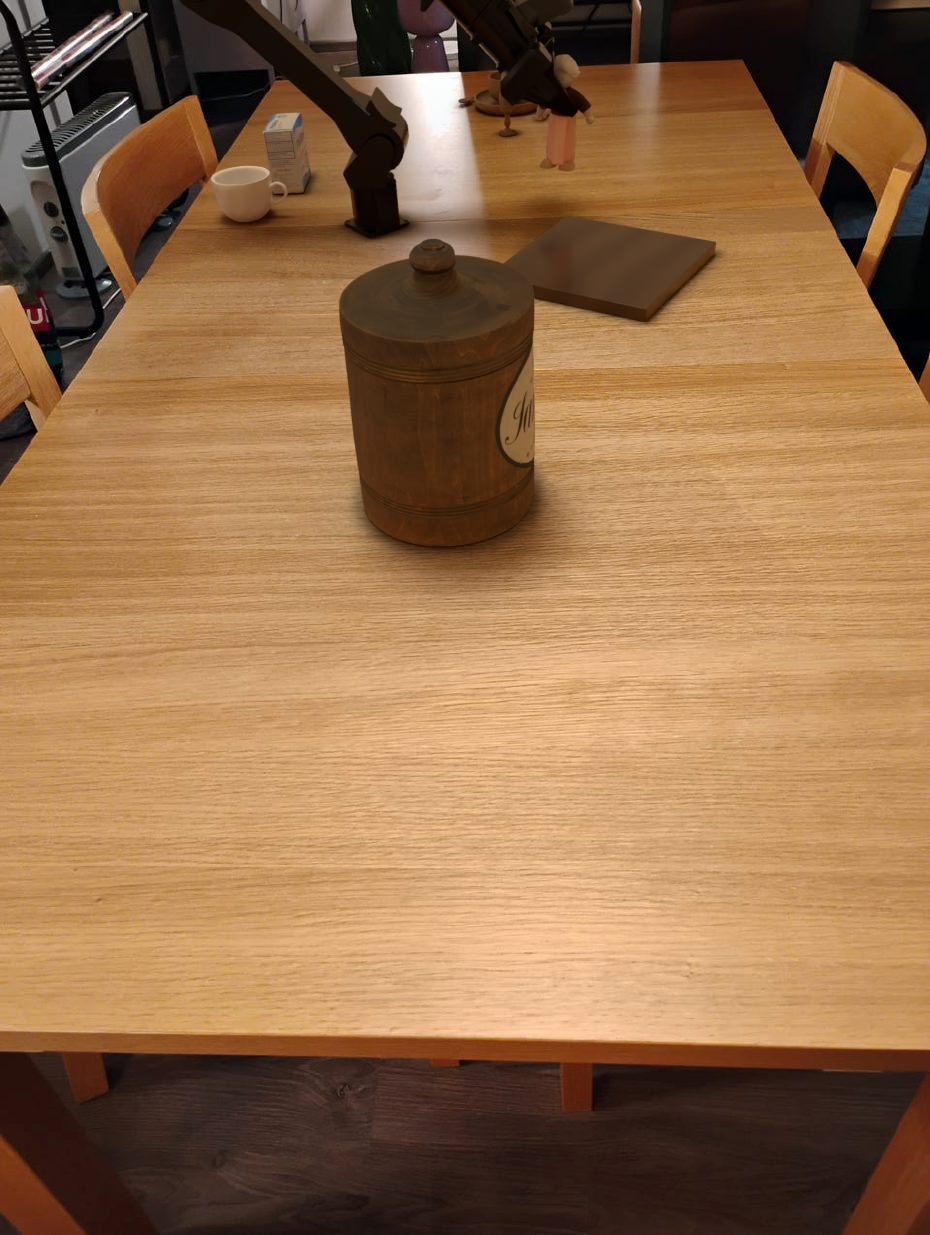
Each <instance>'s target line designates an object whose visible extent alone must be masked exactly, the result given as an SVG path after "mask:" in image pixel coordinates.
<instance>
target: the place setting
mask: <svg viewBox="0 0 930 1235" xmlns="http://www.w3.org/2000/svg"><path fill="white" fill-rule="evenodd" d="M487 80H488V81H487V83H488V88H485V89H482V90H479V91H478V92H476V93H475V94H474V95H471V96H467V97H463V98H459V99H458V104H468V103H471V101H472V99H473V102H474V105H475V107H476V108H478V109H479V110H481V111H482V112H484V113H486V114H490V115H496V116H504V121H503V125H504V127H505V128H504V129H502V130H500V131H499V132H498V135H499V136H501V137H513V136H515V135H517V133H518V132H517V131H516V130H515V129H511V124H512V121H511V119H510V118H511V116H518V115H523V114H527V113H530V112H533V111H535V110H537V108H538V105H537V104H535V103H532V102H529V101H526V100H523V99H520V100H519V101H518V102H517V103H516V104H515V105H513V106H511V105H510V104H509V103H508V102H507V101H506V100H505V99H504V97H503V96H502V95H501V91H500V81H501V73H500V72H499V71H498V70H495V71H493V72H490V73H489V74H488V76H487ZM550 112H551V110H549V111H547V112H544V114H543V118H542V119H541V120H544V119H547V118H548V117H547V116H549V114H550ZM532 118H534V119H535V116H532Z"/></svg>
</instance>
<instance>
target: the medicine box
mask: <svg viewBox="0 0 930 1235" xmlns="http://www.w3.org/2000/svg"><path fill="white" fill-rule="evenodd" d="M304 127H305V126H304V122H303V116H302V113H301V112H284V113H283V112H281V113H274V114H272V115H271V117H270V119H269V120H268V123H267V124H266V125H265V128H264V129H263V131H262V137H263V144H264V150H265V155H266V159H267V165H268V170H269V172H270V178H271V183H273V182H281V183H283V184H284V185H285V186H286V188H287V192H288V194H303V193H304V191H305V189H306V186H307V184H308V181H309V179H310V176H311V173H312V172H311V166H310V159H309V154H308V147H307V141H306V134H305V128H304ZM273 193H274V195H275V194H276V195H284V190H283V188H282V187H281V186H276V187H275V188H274V189H273Z"/></svg>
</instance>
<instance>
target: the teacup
mask: <svg viewBox="0 0 930 1235" xmlns="http://www.w3.org/2000/svg"><path fill="white" fill-rule="evenodd" d="M210 180H211V185H212V188H213V192H214V196H215V199H216V202H217V205H218V208H219V209H220V211H221V212H222V213H223V214H224V215H225V216H226V217H227V218H229V219H230V220H233V221H235V222H238V223H249V222H255V221H257V220H260V219H262V218H263V217H265V215H267V213H269V211H270V209H271V207H273V206H276V205H279V204H281V203H283V202H284V201H285V200H286V199H287V197H288V194H289V193H288V192H287V188H286V186H285V185H284V184H283V183H281V182H273V183H272V181H271V176H270V171H269V168H265V167H262V166H257V165H241V166H240V165H239V166H234V167H228V168H224V169H221V170H219V171H217V172H215V173H213V174H212V175H211V177H210ZM276 186H281V187H282V188H283V190H284V194H283V196H282V197H281V198H279V199H278V198H277V199H274V198H273V193H274V191H273V189H274V188H275V187H276Z"/></svg>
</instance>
